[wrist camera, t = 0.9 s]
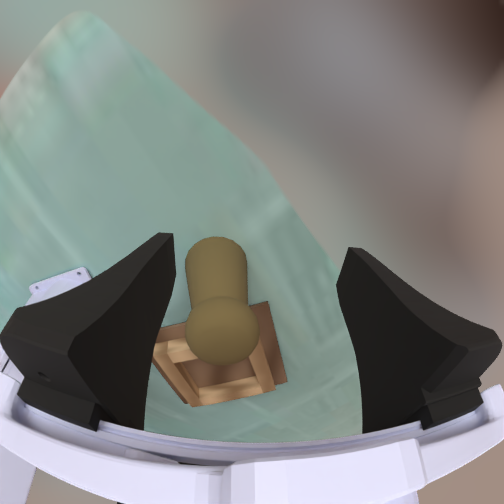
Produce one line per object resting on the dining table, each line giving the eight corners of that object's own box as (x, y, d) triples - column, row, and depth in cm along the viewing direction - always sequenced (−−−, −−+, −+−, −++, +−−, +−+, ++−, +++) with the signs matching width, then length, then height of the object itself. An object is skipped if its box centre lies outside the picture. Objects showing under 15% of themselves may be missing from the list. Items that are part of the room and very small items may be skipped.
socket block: (185, 401, 37) (185, 414, 35) (134, 333, 29) (131, 347, 27) (286, 379, 37) (290, 392, 35) (267, 301, 30) (272, 315, 28)
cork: (259, 266, 27) (287, 348, 18) (213, 300, 29) (220, 386, 19) (219, 223, 25) (229, 298, 15) (172, 263, 26) (158, 348, 16)
